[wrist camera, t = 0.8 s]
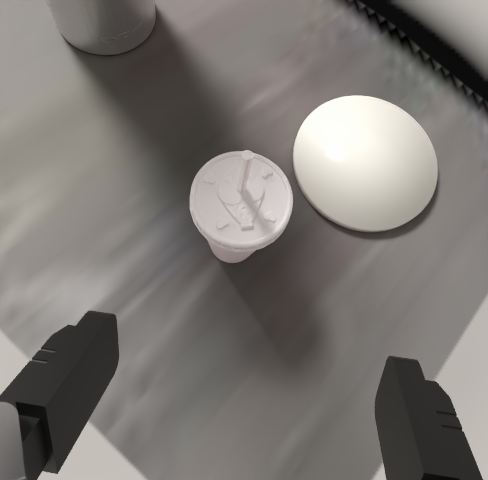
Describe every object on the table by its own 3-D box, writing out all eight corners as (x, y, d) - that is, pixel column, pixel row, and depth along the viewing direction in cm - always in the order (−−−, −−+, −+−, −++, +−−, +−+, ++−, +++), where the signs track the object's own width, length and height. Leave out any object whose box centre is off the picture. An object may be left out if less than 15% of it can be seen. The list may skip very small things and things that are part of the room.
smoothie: (263, 200, 36) (297, 104, 22) (277, 273, 34) (324, 215, 21) (188, 210, 35) (178, 115, 22) (198, 285, 33) (195, 233, 20)
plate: (265, 133, 38) (267, 128, 37) (381, 81, 40) (385, 76, 40) (342, 258, 35) (345, 255, 34) (460, 193, 38) (466, 189, 37)
